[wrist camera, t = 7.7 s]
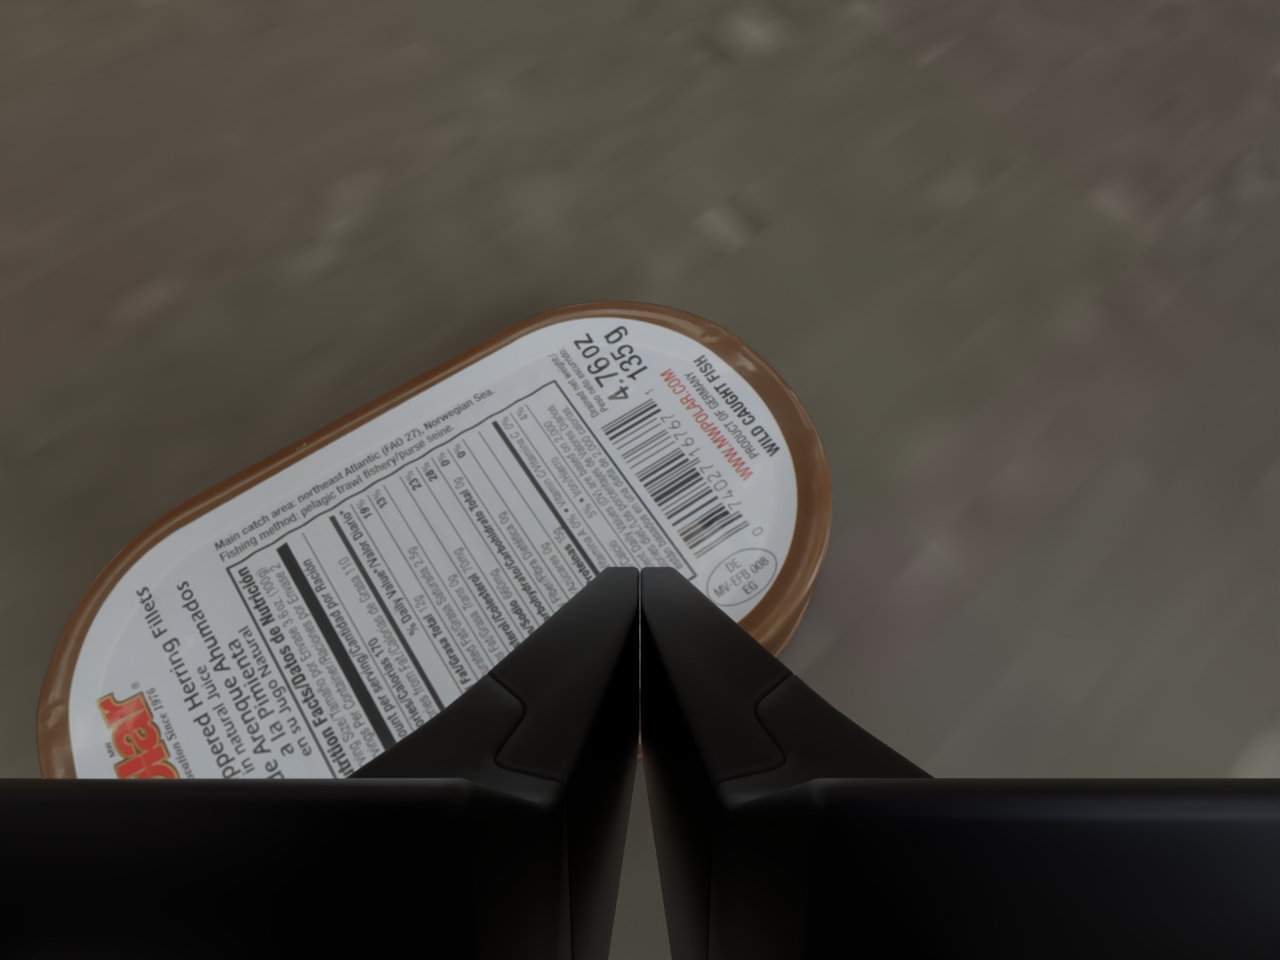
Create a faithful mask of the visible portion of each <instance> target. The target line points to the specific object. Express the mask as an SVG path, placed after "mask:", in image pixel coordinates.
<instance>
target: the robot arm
mask: <svg viewBox="0 0 1280 960" xmlns="http://www.w3.org/2000/svg"><path fill="white" fill-rule="evenodd" d="M639 733H641V748H642V757H643V765H644V772H645V778H646V785H647V792H648V799H649V806H650V813H651V820H652V826H653V833H654V840H655V847H656V854H657V861H658V867H659V874H660V881H661V888H662V895H663V902H664V908H665V915H666V922H667V929H668V936H669V943H670V950H671V956H672V960H1280V778H934V777H932V776H931V775H930V774H928V773H927V772H925V771H924V770H922V769H921V768H919V767H918V766H916V765H915V764H914V763H912V762H911V761H909V760H908V759H906V758H905V757H903V756H902V755H900V754H899V753H897V752H896V751H895V750H893V749H892V748H890V747H889V746H887V745H886V744H884V743H883V742H881V741H880V740H879V739H877V738H876V737H874V736H873V735H871V734H870V733H868V732H867V731H865V730H864V729H863V728H861V727H860V726H859V725H857V724H856V723H854V722H853V721H852V720H850V719H849V718H848V717H846V716H845V715H843V714H842V713H841V712H839V711H838V710H836V709H835V708H834V707H833V706H832V705H830V704H829V703H828V702H827V701H826V700H824V699H823V698H822V697H821V696H819V695H818V694H817V693H816V692H815V691H813V690H812V689H811V688H810V687H809V686H808V685H806V684H805V683H804V682H803V681H802V680H801V679H800V678H799V677H797V676H796V675H793V673H792V672H791V671H790V670H789V669H788V668H787V667H786V666H785V665H784V664H782V663H781V662H780V661H779V660H778V659H777V658H776V657H774V656H773V655H772V654H771V653H770V652H769V651H768V650H767V649H765V648H764V647H763V646H762V645H761V644H760V643H759V642H758V641H756V640H755V639H754V638H753V637H752V636H751V635H750V634H749V633H747V632H746V631H745V630H744V629H743V628H742V627H741V626H739V625H738V624H737V623H736V622H735V621H734V620H733V619H732V618H730V617H729V616H728V615H727V614H726V613H725V612H724V611H723V610H721V609H720V608H719V607H718V606H717V605H716V604H715V603H714V602H712V601H711V600H710V599H709V598H708V597H707V596H706V595H704V594H703V593H702V592H701V591H700V590H699V589H698V588H697V587H695V586H694V585H693V584H692V583H691V582H690V581H689V580H688V579H686V578H685V577H684V576H683V575H682V574H681V573H680V572H679V571H677V570H676V569H675V568H673V567H644V568H642V569H641V571H639V569H638V568H636V567H607V568H605V569H604V570H603V571H601V572H600V573H599V574H598V575H597V576H596V577H595V578H594V579H592V580H591V581H590V582H589V583H588V584H587V585H586V586H585V587H583V588H582V589H581V590H580V591H579V592H578V593H577V594H576V595H574V596H573V597H572V598H571V599H570V600H569V601H568V602H566V603H565V604H564V605H563V606H562V607H561V608H560V609H559V610H557V611H556V612H555V613H554V614H553V615H552V616H551V617H550V618H548V619H547V620H546V621H545V622H544V623H543V624H542V625H541V626H539V627H538V628H537V629H536V630H535V631H534V632H533V633H531V634H530V635H529V636H528V637H527V638H526V639H525V640H524V641H522V642H521V643H520V644H519V645H518V646H517V647H516V648H515V649H513V650H512V651H511V652H510V653H509V654H508V655H507V656H506V657H504V658H503V659H502V660H501V661H500V662H499V663H498V664H496V665H495V666H494V667H493V668H492V669H491V670H490V671H489V672H488V673H487V675H484V676H483V677H481V678H480V679H479V680H478V681H477V682H476V683H475V684H474V685H472V686H471V687H470V688H469V689H468V690H467V691H465V692H464V693H463V694H462V695H461V696H459V697H458V698H457V699H456V700H454V701H453V702H452V703H451V704H450V705H448V706H447V707H446V708H445V709H444V710H442V711H441V712H439V713H438V714H437V715H435V716H434V717H432V718H431V719H430V720H428V721H427V722H426V723H424V724H423V725H421V726H420V727H419V728H417V729H416V730H415V731H413V732H412V733H410V734H409V735H407V736H406V737H404V738H403V739H401V740H400V741H399V742H397V743H396V744H394V745H393V746H391V747H390V748H388V749H387V750H385V751H384V752H383V753H381V754H380V755H378V756H377V757H375V758H374V759H372V760H371V761H369V762H368V763H366V764H365V765H364V766H362V767H361V768H359V769H358V770H356V771H355V772H353V773H352V774H350V775H349V776H347V777H346V778H0V960H608V956H609V950H610V943H611V936H612V929H613V922H614V915H615V908H616V902H617V895H618V888H619V881H620V874H621V867H622V861H623V854H624V847H625V840H626V833H627V826H628V820H629V813H630V806H631V799H632V792H633V785H634V778H635V772H636V765H637V757H638V748H639Z"/></svg>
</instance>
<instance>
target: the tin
mask: <svg viewBox="0 0 1280 960" xmlns="http://www.w3.org/2000/svg"><path fill="white" fill-rule="evenodd" d="M831 520H832V487H831V478H830V472H829V466H828V461H827V457H826V453H825V450H824V447H823V444H822V441H821V439H820V436H819V434H818V432H817V430H816V427H815V426H814V424H813V422H812V420H811V418H810V416H809V415H808V413H807V411H806V409H805V407H804V406H803V404H802V403H801V401H800V400H799V398H798V397H797V395H796V394H795V392H794V391H793V390H792V388H791V387H790V386H789V384H788V383H787V382H786V381H785V380H784V379H783V377H782V376H781V375H780V374H779V373H778V372H777V371H776V370H775V369H774V368H773V367H772V366H771V365H770V364H769V363H768V362H767V361H766V360H765V359H764V358H762V357H761V356H760V355H759V354H758V353H757V352H756V351H755V350H753V349H752V348H751V347H750V346H748V345H747V344H746V343H745V342H743V341H742V340H741V339H740V338H738V337H737V336H736V335H735V334H733V333H732V332H730V331H729V330H727V329H725V328H724V327H722V326H720V325H718V324H716V323H715V322H713V321H710V320H708V319H705V318H702V317H700V316H697V315H694V314H691V313H688V312H685V311H682V310H679V309H675V308H671V307H667V306H662V305H657V304H650V303H643V302H628V301H598V302H590V303H582V304H574V305H570V306H565V307H561V308H557V309H553V310H549V311H546V312H543V313H541V314H538V315H535V316H532V317H530V318H527V319H524V320H522V321H520V322H518V323H516V324H514V325H512V326H510V327H508V328H506V329H504V330H503V331H501V332H499V333H497V334H495V335H494V336H492V337H490V338H488V339H486V340H484V341H482V342H480V343H478V344H476V345H475V346H473V347H471V348H469V349H467V350H466V351H464V352H462V353H460V354H458V355H457V356H455V357H453V358H451V359H449V360H447V361H445V362H444V363H442V364H440V365H438V366H436V367H434V368H432V369H430V370H428V371H427V372H425V373H424V374H422V375H420V376H418V377H416V378H414V379H412V380H410V381H408V382H406V383H405V384H403V385H401V386H399V387H397V388H395V389H393V390H392V391H390V392H388V393H386V394H384V395H382V396H380V397H378V398H377V399H375V400H373V401H371V402H369V403H367V404H365V405H363V406H361V407H359V408H358V409H356V410H354V411H352V412H350V413H348V414H347V415H345V416H343V417H341V418H339V419H337V420H335V421H333V422H332V423H330V424H328V425H326V426H324V427H322V428H320V429H319V430H317V431H315V432H313V433H311V434H309V435H307V436H306V437H304V438H302V439H300V440H298V441H297V442H295V443H293V444H291V445H289V446H287V447H285V448H283V449H281V450H279V451H278V452H276V453H274V454H272V455H270V456H268V457H267V458H265V459H263V460H261V461H259V462H257V463H255V464H254V465H252V466H250V467H248V468H246V469H244V470H242V471H241V472H239V473H237V474H235V475H233V476H231V477H229V478H227V479H225V480H224V481H222V482H220V483H218V484H216V485H214V486H212V487H210V488H209V489H207V490H205V491H203V492H201V493H199V494H198V495H196V496H194V497H193V498H191V499H188V500H186V501H185V502H183V503H182V504H180V505H178V506H177V507H175V508H173V509H172V510H170V511H169V512H167V513H166V514H164V515H163V516H161V517H160V518H158V519H157V520H155V521H154V522H153V523H151V524H150V525H148V526H147V527H146V528H145V529H144V530H142V531H141V532H140V533H139V534H138V535H136V536H135V537H134V538H133V539H132V540H131V541H129V542H128V543H127V544H126V545H125V546H124V547H123V548H121V550H120V551H119V552H118V553H117V554H116V555H115V556H114V557H113V558H112V559H111V561H110V562H109V563H108V564H107V565H106V566H105V567H104V568H103V570H102V571H101V572H100V573H99V574H98V575H97V577H96V578H95V579H94V581H93V582H92V584H91V585H90V586H89V588H88V589H87V590H86V592H85V593H84V595H83V596H82V598H81V599H80V601H79V602H78V604H77V606H76V607H75V609H74V611H73V612H72V614H71V616H70V618H69V619H68V621H67V623H66V625H65V627H64V629H63V631H62V633H61V636H60V638H59V640H58V642H57V644H56V647H55V649H54V652H53V655H52V657H51V660H50V663H49V666H48V669H47V672H46V675H45V678H44V682H43V685H42V690H41V694H40V699H39V704H38V711H37V727H36V740H37V751H38V759H39V764H40V770H41V777H42V778H346V777H347V776H349V775H350V774H352V773H353V772H355V771H356V770H358V769H359V768H361V767H362V766H364V765H365V764H366V763H368V762H369V761H371V760H372V759H374V758H375V757H377V756H378V755H380V754H381V753H383V752H384V751H385V750H387V749H388V748H390V747H391V746H393V745H394V744H396V743H397V742H399V741H400V740H401V739H403V738H404V737H406V736H407V735H409V734H410V733H412V732H413V731H415V730H416V729H417V728H419V727H420V726H421V725H423V724H424V723H426V722H427V721H428V720H430V719H431V718H432V717H434V716H435V715H437V714H438V713H439V712H441V711H442V710H444V709H445V708H446V707H447V706H448V705H450V704H451V703H452V702H453V701H454V700H456V699H457V698H458V697H459V696H461V695H462V694H463V693H464V692H465V691H467V690H468V689H469V688H470V687H471V686H472V685H474V684H475V683H476V682H477V681H478V680H479V679H480V678H481V677H483V676H484V675H487V673H488V672H489V671H490V670H491V669H492V668H493V667H494V666H495V665H496V664H498V663H499V662H500V661H501V660H502V659H503V658H504V657H506V656H507V655H508V654H509V653H510V652H511V651H512V650H513V649H515V648H516V647H517V646H518V645H519V644H520V643H521V642H522V641H524V640H525V639H526V638H527V637H528V636H529V635H530V634H531V633H533V632H534V631H535V630H536V629H537V628H538V627H539V626H541V625H542V624H543V623H544V622H545V621H546V620H547V619H548V618H550V617H551V616H552V615H553V614H554V613H555V612H556V611H557V610H559V609H560V608H561V607H562V606H563V605H564V604H565V603H566V602H568V601H569V600H570V599H571V598H572V597H573V596H574V595H576V594H577V593H578V592H579V591H580V590H581V589H582V588H583V587H585V586H586V585H587V584H588V583H589V582H590V581H591V580H592V579H594V578H595V577H596V576H597V575H598V574H599V573H600V572H601V571H603V570H604V569H605V568H607V567H636V568H638V569H639V571H641V569H642V568H644V567H673V568H675V569H676V570H677V571H679V572H680V573H681V574H682V575H683V576H684V577H685V578H686V579H688V580H689V581H690V582H691V583H692V584H693V585H694V586H695V587H697V588H698V589H699V590H700V591H701V592H702V593H703V594H704V595H706V596H707V597H708V598H709V599H710V600H711V601H712V602H714V603H715V604H716V605H717V606H718V607H719V608H720V609H721V610H723V611H724V612H725V613H726V614H727V615H728V616H729V617H730V618H732V619H733V620H734V621H735V622H736V623H737V624H738V625H739V626H741V627H742V628H743V629H744V630H745V631H746V632H747V633H749V634H750V635H751V636H752V637H753V638H754V639H755V640H756V641H758V642H759V643H760V644H761V645H762V646H763V647H764V648H765V649H767V650H768V651H769V652H770V653H771V654H772V655H773V656H774V657H776V658H778V656H779V655H780V654H781V653H782V652H783V650H784V649H785V647H786V646H787V645H788V643H789V642H790V640H791V639H792V637H793V635H794V633H795V632H796V630H797V628H798V626H799V625H800V623H801V621H802V619H803V616H804V614H805V612H806V609H807V607H808V604H809V601H810V599H811V595H812V592H813V589H814V587H815V584H816V582H817V580H818V577H819V574H820V571H821V568H822V565H823V562H824V559H825V556H826V552H827V547H828V542H829V537H830V530H831ZM642 758H643V757H642V748H641V733H639V748H638V757H637V762H638V761H639V760H641V759H642Z"/></svg>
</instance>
